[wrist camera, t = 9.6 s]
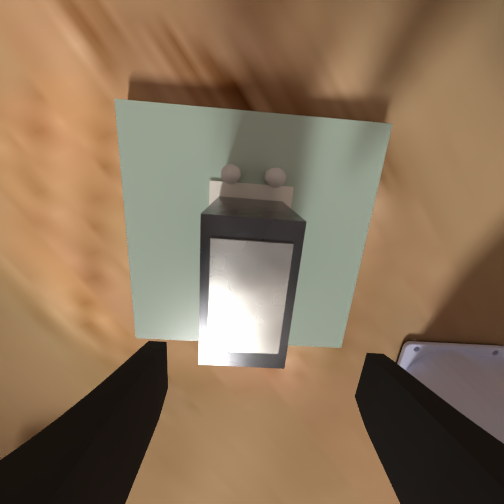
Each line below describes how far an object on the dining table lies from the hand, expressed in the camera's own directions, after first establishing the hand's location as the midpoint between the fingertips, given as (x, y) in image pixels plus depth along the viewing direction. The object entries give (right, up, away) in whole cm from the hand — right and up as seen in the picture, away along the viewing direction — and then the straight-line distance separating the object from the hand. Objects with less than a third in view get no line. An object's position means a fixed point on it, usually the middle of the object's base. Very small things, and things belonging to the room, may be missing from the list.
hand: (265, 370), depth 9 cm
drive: (-1, +4, +8) cm, 9 cm away
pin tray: (-1, +5, +9) cm, 11 cm away
